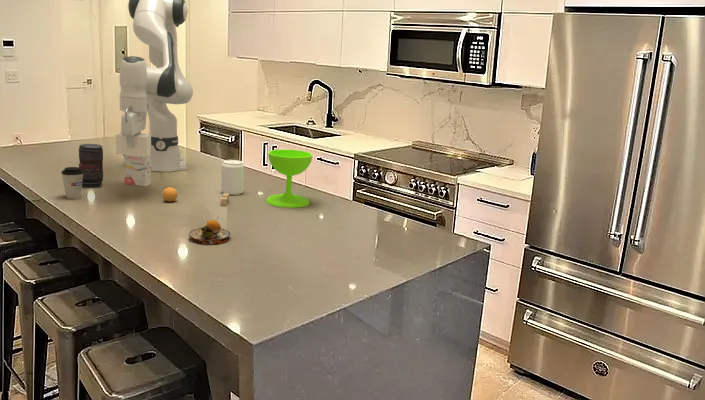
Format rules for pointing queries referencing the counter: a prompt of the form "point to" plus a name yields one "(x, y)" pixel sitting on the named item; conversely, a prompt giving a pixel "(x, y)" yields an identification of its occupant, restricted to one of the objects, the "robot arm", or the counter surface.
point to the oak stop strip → (224, 199)
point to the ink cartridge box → (138, 170)
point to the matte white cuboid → (140, 145)
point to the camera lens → (91, 164)
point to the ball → (169, 194)
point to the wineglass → (289, 175)
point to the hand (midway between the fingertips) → (133, 146)
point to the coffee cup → (72, 182)
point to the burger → (210, 234)
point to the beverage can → (232, 177)
